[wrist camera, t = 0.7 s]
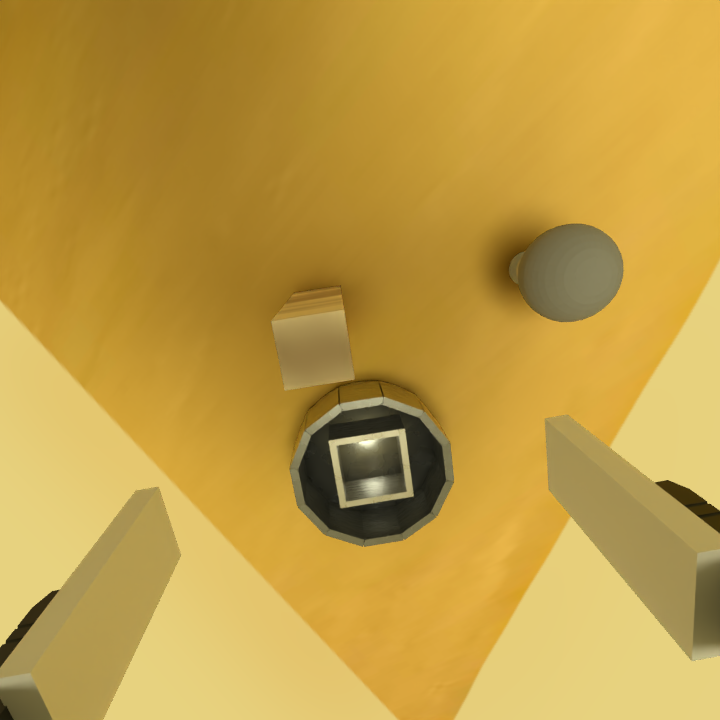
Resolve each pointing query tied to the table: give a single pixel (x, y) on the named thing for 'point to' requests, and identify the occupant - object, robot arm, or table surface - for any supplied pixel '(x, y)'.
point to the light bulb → (569, 272)
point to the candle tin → (371, 464)
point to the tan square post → (313, 339)
